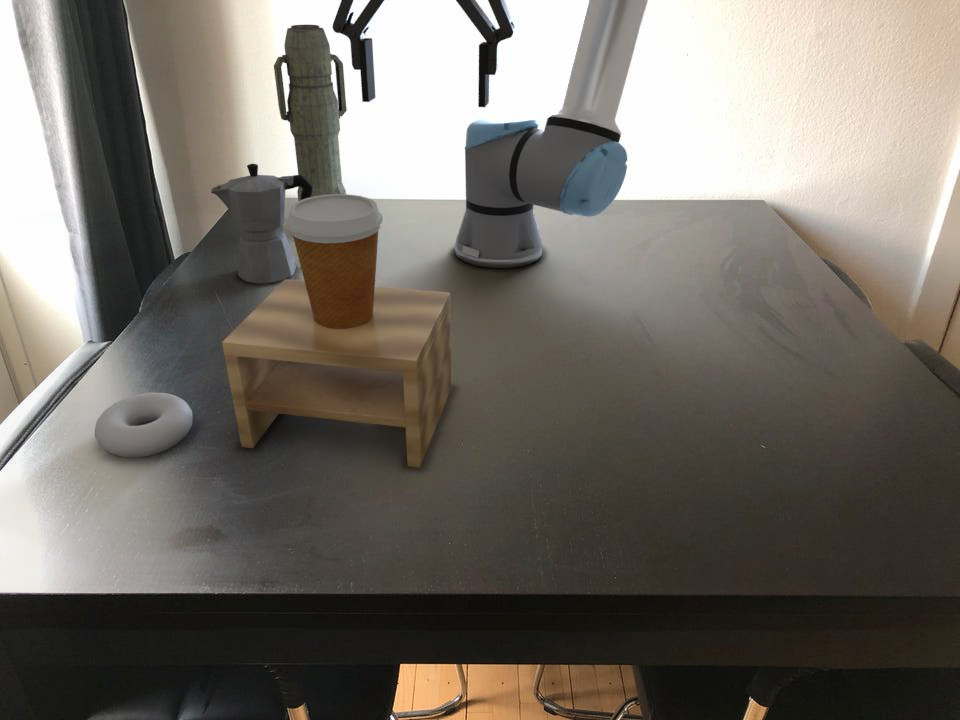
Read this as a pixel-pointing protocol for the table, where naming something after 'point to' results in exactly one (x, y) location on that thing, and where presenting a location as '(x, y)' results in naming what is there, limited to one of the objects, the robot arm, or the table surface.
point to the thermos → (313, 106)
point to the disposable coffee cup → (337, 256)
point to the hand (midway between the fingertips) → (425, 102)
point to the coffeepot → (262, 223)
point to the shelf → (343, 364)
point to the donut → (131, 440)
